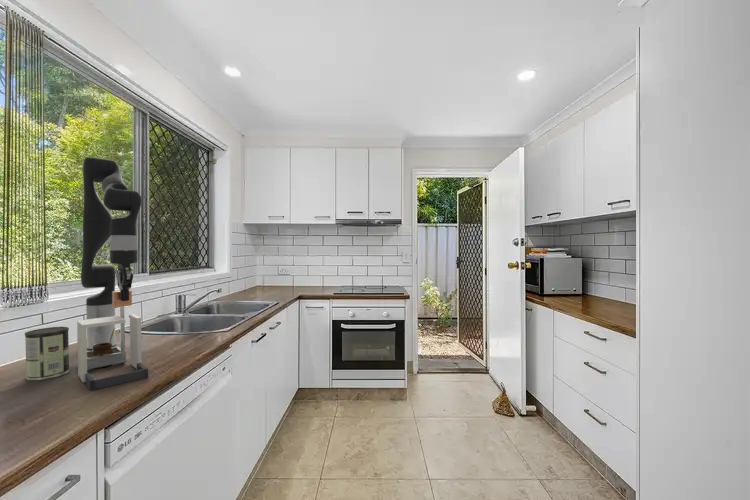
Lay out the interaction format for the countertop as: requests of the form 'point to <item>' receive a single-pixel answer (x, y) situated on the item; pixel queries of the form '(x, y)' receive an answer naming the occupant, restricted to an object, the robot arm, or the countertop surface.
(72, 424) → the countertop surface
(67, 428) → the countertop surface
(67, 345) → the coffee can
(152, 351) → the countertop surface
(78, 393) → the countertop surface
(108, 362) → the slider
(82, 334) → the white and grey frame
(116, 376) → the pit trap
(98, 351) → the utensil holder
